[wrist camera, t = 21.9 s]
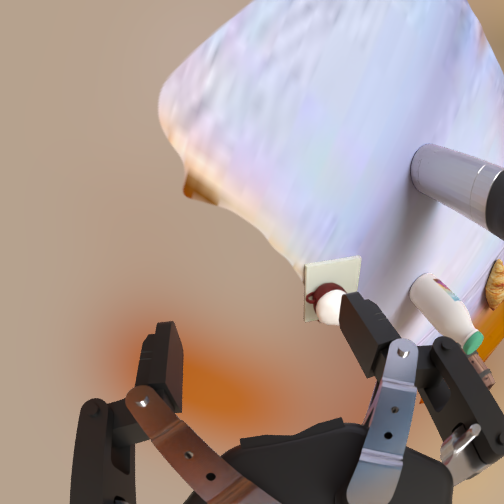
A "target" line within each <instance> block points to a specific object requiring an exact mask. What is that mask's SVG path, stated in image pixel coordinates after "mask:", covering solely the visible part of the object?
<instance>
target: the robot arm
mask: <svg viewBox="0 0 504 504" xmlns="http://www.w3.org/2000/svg"><path fill="white" fill-rule="evenodd" d="M411 177H412V181H413V184H414V186H415V187H416V189H417V190H418V191H420V192H421V193H423V194H425V195H427V196H429V197H431V198H433V199H435V200H437V201H438V202H440V203H442V204H444V205H446V206H448V207H449V208H451V209H453V210H455V211H456V212H458V213H460V214H462V215H463V216H465V217H467V218H468V219H470V220H472V221H473V222H475V223H477V224H478V225H480V226H482V227H483V228H485V229H486V230H488V231H490V232H491V233H493V234H494V235H496V236H497V237H499V238H500V239H502V240H504V168H503V167H500V166H498V165H495V164H492V163H489V162H487V161H484V160H481V159H479V158H476V157H473V156H470V155H467V154H464V153H461V152H458V151H455V150H451V149H448V148H445V147H441V146H438V145H434V144H425V145H423V146H422V147H420V148H419V149H418V151H417V152H416V153H415V155H414V158H413V161H412V165H411ZM339 326H340V329H341V331H342V333H343V335H344V336H345V338H346V340H347V342H348V344H349V345H350V347H351V349H352V351H353V353H354V355H355V357H356V358H357V360H358V362H359V364H360V366H361V368H362V370H363V372H364V373H365V376H366V377H367V378H370V377H373V376H375V377H376V379H377V381H376V384H375V387H374V391H373V394H372V398H371V401H370V404H369V408H368V410H367V413H366V416H365V419H364V421H363V423H362V425H360V424H356V423H343V420H342V418H341V417H340V418H337V419H333V420H330V421H326V422H322V423H318V424H316V425H314V426H312V427H310V428H308V429H306V430H305V431H302V432H300V433H298V434H296V435H291V436H289V435H288V436H287V435H285V436H284V435H262V436H255V437H249V438H241V439H240V444H241V445H239V446H236V447H234V448H232V449H230V450H228V451H227V452H225V453H224V454H223V455H221V456H219V455H218V454H217V453H216V452H215V451H213V450H212V449H211V448H210V447H209V446H208V445H207V444H206V443H205V442H204V441H203V440H202V439H201V438H200V437H199V436H198V435H197V434H196V433H195V432H194V431H193V430H192V429H191V428H190V427H189V426H188V425H187V424H186V423H185V422H184V421H182V420H180V419H179V418H178V417H177V415H176V414H175V413H182V383H183V382H182V381H183V348H182V344H181V341H180V338H179V335H178V332H177V329H176V326H175V323H174V322H173V321H169V322H160V323H157V327H156V333H155V334H149V335H148V336H147V338H146V339H145V340H144V342H143V345H142V350H141V355H140V361H139V366H138V372H137V377H136V383H135V387H134V388H132V389H131V390H130V391H129V392H128V393H127V395H126V398H124V399H122V400H119V401H116V402H112V403H109V404H106V403H105V401H103V400H101V399H98V398H94V399H90V400H89V401H87V402H85V403H84V405H83V406H82V408H81V411H80V416H79V421H78V428H77V434H76V440H75V448H74V457H73V465H72V475H71V490H70V504H136V492H135V443H139V442H142V441H146V440H149V439H151V442H152V443H153V444H154V446H155V447H156V448H157V450H158V451H159V452H160V453H161V454H162V456H163V457H164V458H165V459H166V460H167V461H168V463H169V464H170V465H171V466H172V467H173V468H174V469H175V470H176V472H177V473H178V474H179V475H180V476H181V477H182V478H183V479H184V480H185V481H186V483H188V484H189V486H190V487H191V488H192V489H193V490H194V491H193V492H192V493H191V495H190V496H189V497H188V499H187V500H186V501H185V502H184V503H183V504H452V494H453V487H454V486H456V485H457V484H459V483H461V482H462V481H464V480H467V479H471V478H472V477H474V476H476V475H477V474H479V473H480V472H482V471H483V470H485V469H486V468H488V467H489V466H491V465H492V464H493V463H495V462H496V461H498V460H499V459H500V458H502V457H503V456H504V415H503V413H502V411H501V409H500V408H499V406H498V404H497V403H496V401H495V399H494V398H493V396H492V394H491V393H490V391H489V390H488V388H487V386H486V385H485V383H484V382H483V380H482V379H481V377H480V376H479V374H478V373H477V371H476V370H475V368H474V367H473V365H472V364H471V362H470V361H469V360H468V358H467V357H466V355H465V354H464V352H463V351H462V350H461V348H460V347H459V346H458V344H457V343H456V342H455V341H454V340H453V339H452V338H450V337H446V336H441V337H438V338H436V339H435V340H434V342H433V345H429V346H416V344H415V343H413V342H412V341H410V340H408V339H403V338H401V337H400V336H399V334H398V333H397V331H396V330H395V329H394V327H393V326H392V325H391V323H390V322H389V320H388V319H386V316H385V315H384V314H383V313H382V311H381V310H380V308H379V307H378V306H377V305H376V304H375V303H373V302H372V301H370V300H369V299H368V300H364V299H363V297H362V296H361V295H360V293H359V292H352V293H347V294H343V295H342V297H341V305H340V313H339ZM443 378H444V379H443ZM446 383H447V384H446ZM449 388H450V389H449ZM417 390H418V392H419V394H420V396H421V398H422V399H423V401H424V403H425V405H426V407H427V409H428V411H429V413H430V415H431V417H432V419H433V421H434V423H435V425H436V427H437V430H438V432H439V434H440V436H441V438H442V440H443V444H442V446H441V455H440V458H441V460H442V463H441V462H440V461H437V460H435V459H433V458H430V457H428V456H426V455H424V454H422V453H419V452H417V451H415V450H413V449H411V448H409V447H407V446H406V443H407V439H408V435H409V430H410V426H411V421H412V416H413V411H414V406H415V400H416V394H417Z"/></svg>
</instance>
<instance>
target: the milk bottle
mask: <svg viewBox="0 0 504 504" xmlns="http://www.w3.org/2000/svg"><path fill="white" fill-rule="evenodd" d="M410 299H411V301H412V302H413V303H414V304H415V306H416V307H417V308H418V309H419V310H420V311H421V312H422V314H423V315H424V316H425V317H426V318H427V319H428V321H429V322H430V323H431V324H432V325H433V326H434V327H435V329H436V330H437V331H438V332H439V333H440V334H442V335H443V336H446V337H450V338H452V339H453V340H454V341H456V342H458V343H459V344H460V345H461V348H462V349H463V350H464V352H465V353H466V354H467V355H469V354H471V353H473V352H474V351H475V350H476V349H477V348H478V347H479V346H480V344H481V343H482V341H483V338H484V337H483V335H482V334H481V333H480V332H479V331H478V329H475V328H474V326H473V324H472V322H471V319H470V315H469V312H468V310H467V308H466V306H465V305H464V304H463V303H462V301H461V300H460V299H459V298H458V297H457V296H456V295H455V294H454V293H453V292H452V291H451V290H450V289H449V288H448V287H447V286H446V285H444V284H443V283H442V282H441V281H440V280H439V279H438V278H437V277H436V276H435V275H433V274H431V273H425V274H423V275H421V276H420V277H419V278H418V279H417V280H416V281H415V282H414V283H413V285H412V287H411V289H410Z"/></svg>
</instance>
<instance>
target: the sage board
mask: <svg viewBox="0 0 504 504" xmlns="http://www.w3.org/2000/svg"><path fill="white" fill-rule="evenodd" d="M360 266H361V257H360V256H359V255H357V256H351V257H346V258H340V259H334V260H328V261H321V262H315V263H309V264H305V288H304V290H305V291H304V321H305V322H309V321H314V320H319V318H318V316H317V314H316V313H315V311H314V308H313V304H309V303H308V302H306V300H305V299H306V296H307V295H308V294H309V293H311V292H315V290H316V289H317V288H318V287H319V286H320V285H322V284H324V283H331V282H333V283H336V284H338V285H340V286H341V287H343V289H344V290H345V291H346V292H347V293H352V292H357V288H358V281H359V274H360ZM312 297H313V296H310V297H309V298H308V299H309V300H312Z"/></svg>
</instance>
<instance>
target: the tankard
mask: <svg viewBox="0 0 504 504" xmlns="http://www.w3.org/2000/svg"><path fill="white" fill-rule="evenodd" d="M457 344H458V346H459V347H460V348H461V345H460V344H459V343H458V342H457ZM461 350H462V351H463V352H464V350H463V349H462V348H461ZM464 354H465V355H466V357H467V358H468V360H469V361H470V362H471V364H472V365H473V367H474V368H475V370H476V371H477V373H478V374H479V376H480V377H481V379H482V380H483V382H484V383H485V385H486V386H487V388H488V390H490V389H491V387H492V386H493V385H494V384H495V380H494V378H493V376H492V374H491V371H490V369H488V368H487V366H486V365H485V364H484V362H483V361H482V359H481V358H480V357H479V355H478V352H477V351H476V350H475V351H474V352H473V353H471V354H469V355H467V354H466V353H465V352H464Z"/></svg>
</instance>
